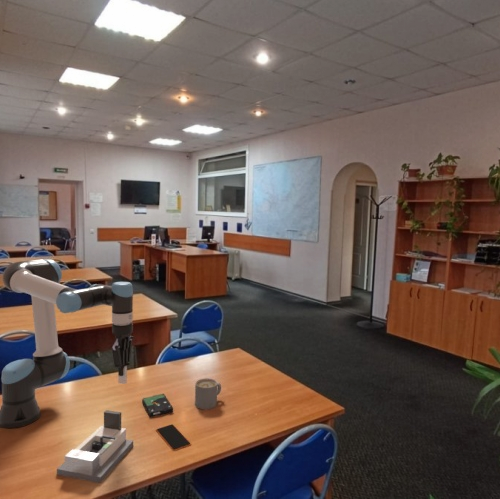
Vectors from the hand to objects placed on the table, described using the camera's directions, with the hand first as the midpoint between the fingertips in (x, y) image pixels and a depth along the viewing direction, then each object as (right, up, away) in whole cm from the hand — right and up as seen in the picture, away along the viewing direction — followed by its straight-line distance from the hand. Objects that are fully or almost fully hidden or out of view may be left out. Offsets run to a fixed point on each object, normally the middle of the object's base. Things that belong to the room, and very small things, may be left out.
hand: (122, 382), depth 152 cm
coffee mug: (+30, -20, +29) cm, 46 cm away
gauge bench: (-4, -22, -14) cm, 26 cm away
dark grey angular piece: (-3, -20, -12) cm, 23 cm away
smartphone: (+19, -22, +1) cm, 29 cm away
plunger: (-3, -19, -7) cm, 21 cm away
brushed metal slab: (-6, -21, -23) cm, 31 cm away
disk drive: (+8, -20, +24) cm, 32 cm away
